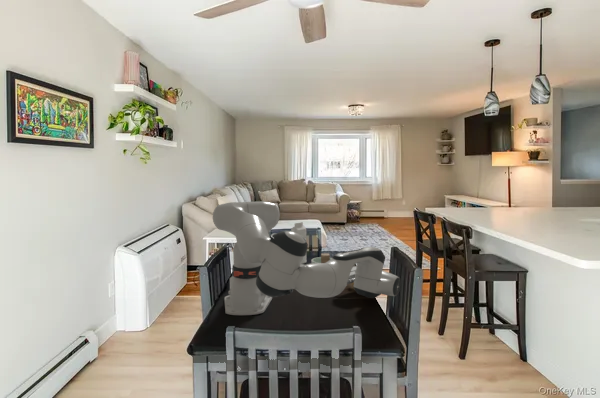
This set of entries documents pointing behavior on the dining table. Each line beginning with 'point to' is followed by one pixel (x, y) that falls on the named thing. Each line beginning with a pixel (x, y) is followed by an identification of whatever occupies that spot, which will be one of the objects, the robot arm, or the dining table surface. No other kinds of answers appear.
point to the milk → (301, 231)
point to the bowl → (316, 260)
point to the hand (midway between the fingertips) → (340, 269)
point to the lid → (325, 257)
